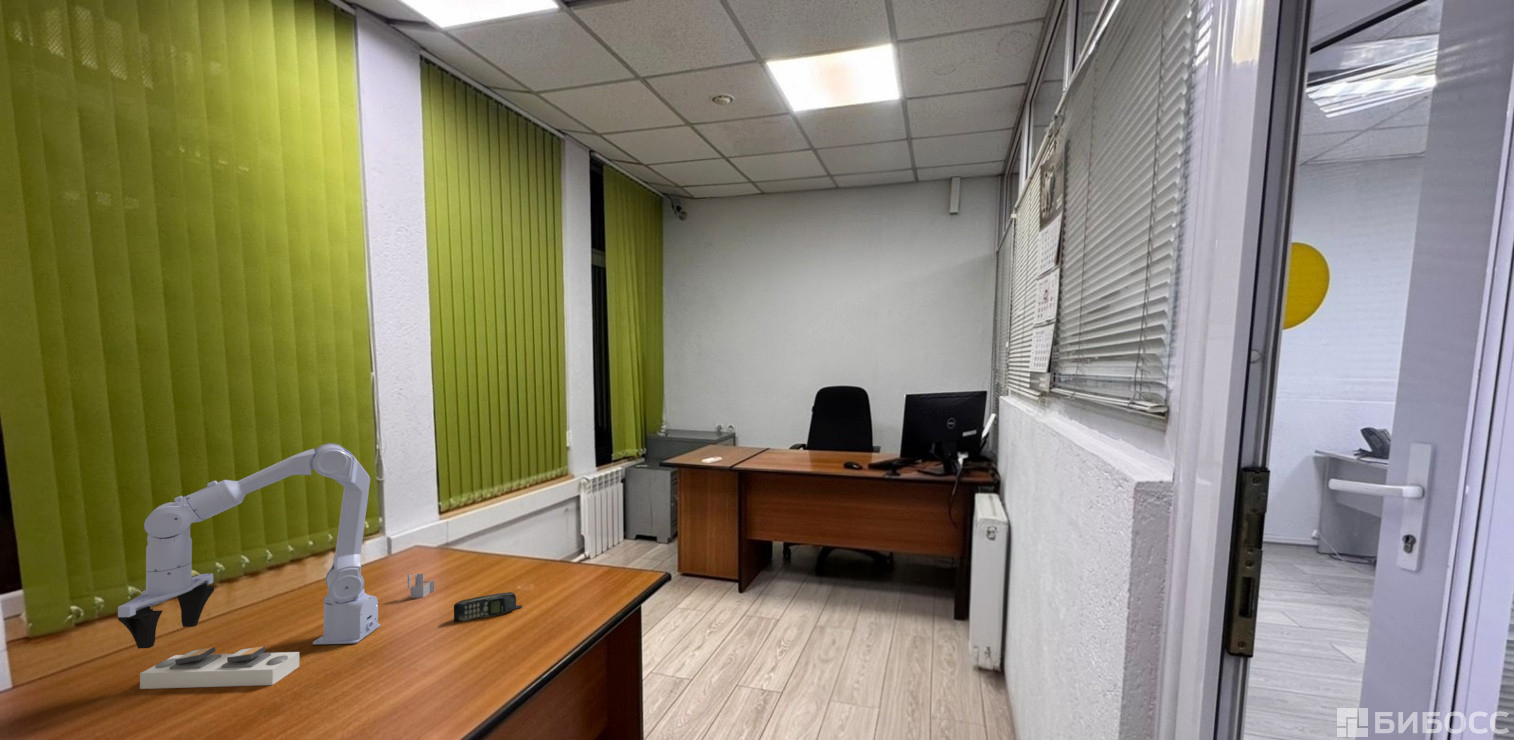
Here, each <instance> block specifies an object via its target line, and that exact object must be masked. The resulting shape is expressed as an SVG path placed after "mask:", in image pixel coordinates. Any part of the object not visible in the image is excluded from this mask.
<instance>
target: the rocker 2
mask: <svg viewBox="0 0 1514 740" xmlns="http://www.w3.org/2000/svg"><path fill="white" fill-rule="evenodd" d="M265 651H266V646H265V645H263V646H257V647H250V648H244V649H240V650H238V651H236V652H235V653H232V654H233V655H231V656H229V657H228V658H227V662H235V661H243V660H250V659H252V658H254V657H256V656H257V655H259V654H261V653H265Z"/></svg>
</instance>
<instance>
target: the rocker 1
mask: <svg viewBox="0 0 1514 740" xmlns="http://www.w3.org/2000/svg"><path fill="white" fill-rule="evenodd" d="M215 652H216V647H215V646H211V647H206V648H201V649H197V650H191V651H189V652H186V653H185V654H182V655H183V656H181V657H179V658H177V659H176V660H175V662H176V664H182V663H187V662H192V661H197V660H201V659H202V658H204V657H206V656H208V655H210V654H214V653H215Z"/></svg>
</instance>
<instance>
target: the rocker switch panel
mask: <svg viewBox="0 0 1514 740" xmlns="http://www.w3.org/2000/svg"><path fill="white" fill-rule="evenodd" d="M233 654H234V653H212V654H210V655H208V656H206V657H204V658H202V659H201V660H197V661H192V662H187V663H182V664H176V662H175V660H176V659H177V658H179V657H181V656H183V655H184V654H174V655H173V656H171V657H169V658H167V659H165V660H163V661H160V662H159V663H156V664H155V665H153V666H151V667H150V668H147V669H146V670H143V671H142V672H140V673H139V689H140V690H146V689H147V690H149V689H152V690H153V689H154V690H155V689H176V688H177V689H179V688H180V689H182V688H184V689H186V688H213V687H215V688H216V687H217V688H219V687H246V686H247V687H249V686H251V687H253V686H273V685H274V684H276V683H277V682H279V681H280V680H283V678H285V677H287V676H288V675H289V674H291V673H293V672H294V671H295V670H296V669H298V668H300V651H287V652H286V651H285V652H283V651H282V652H281V651H280V652H262V653H261V654H259V655H257V656H256V657H254V658H252V659H250V660H243V661H235V662H227V658H228V657H229V656H231V655H233Z"/></svg>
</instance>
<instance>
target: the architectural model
mask: <svg viewBox="0 0 1514 740" xmlns="http://www.w3.org/2000/svg"><path fill="white" fill-rule="evenodd" d="M424 578H425V577H424V573H416V574H415V575H414V586H412V574H411V573H408V574H407V587H408V589H409V588H410V598H411V599H414V598H415V599H416V598H418V599H419V598H424V597H426V596H427V595H428V594H429V593H433V592H435V580H425V579H424ZM424 583H426V584H424Z"/></svg>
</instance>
